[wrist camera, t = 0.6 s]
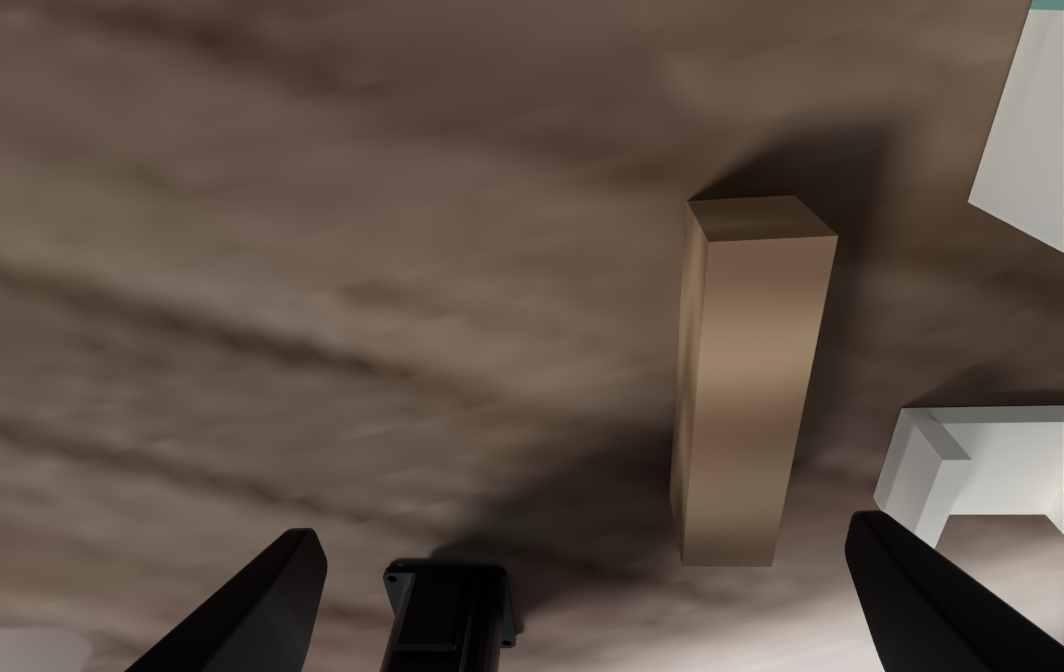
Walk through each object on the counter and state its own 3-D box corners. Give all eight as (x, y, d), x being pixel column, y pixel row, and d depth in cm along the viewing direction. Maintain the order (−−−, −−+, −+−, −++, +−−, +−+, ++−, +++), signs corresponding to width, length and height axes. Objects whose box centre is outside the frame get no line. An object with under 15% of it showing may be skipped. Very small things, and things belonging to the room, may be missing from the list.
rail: (746, 492, 26) (771, 566, 23) (668, 492, 27) (682, 566, 23) (791, 192, 19) (838, 235, 16) (685, 198, 20) (708, 242, 16)
